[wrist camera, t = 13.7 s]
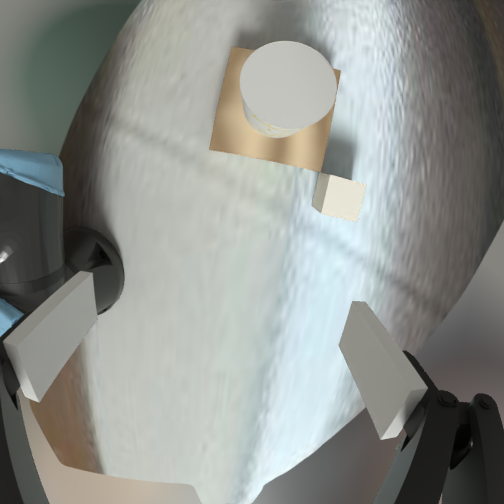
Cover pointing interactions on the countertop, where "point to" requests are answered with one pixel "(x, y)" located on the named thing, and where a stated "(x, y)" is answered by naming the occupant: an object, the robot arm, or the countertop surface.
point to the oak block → (255, 144)
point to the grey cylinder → (286, 88)
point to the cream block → (338, 197)
